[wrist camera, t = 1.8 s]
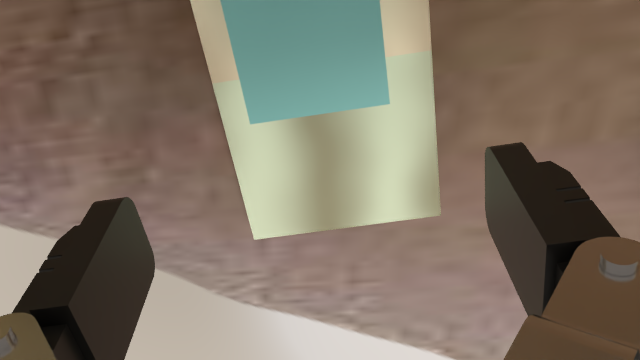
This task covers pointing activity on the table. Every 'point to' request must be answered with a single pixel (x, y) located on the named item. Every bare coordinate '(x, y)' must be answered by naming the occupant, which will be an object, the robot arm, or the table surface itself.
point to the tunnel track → (335, 138)
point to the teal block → (307, 56)
